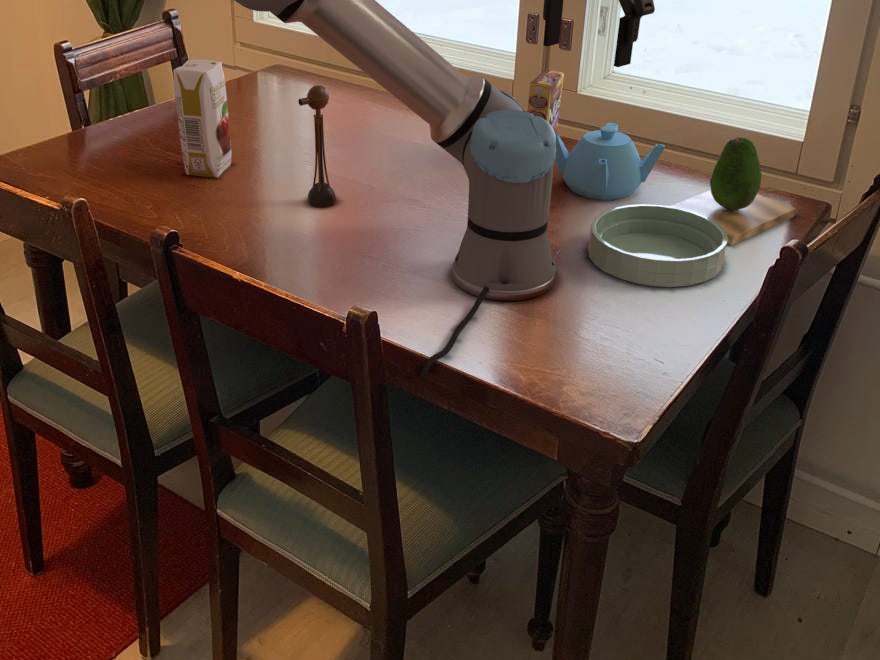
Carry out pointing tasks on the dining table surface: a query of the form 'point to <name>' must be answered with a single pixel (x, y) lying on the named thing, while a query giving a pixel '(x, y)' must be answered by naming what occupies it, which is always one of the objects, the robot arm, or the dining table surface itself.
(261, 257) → the dining table surface
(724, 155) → the avocado
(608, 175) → the teapot
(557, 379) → the dining table surface
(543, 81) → the candy box
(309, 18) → the robot arm
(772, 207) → the board
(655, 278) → the bowl
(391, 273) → the dining table surface
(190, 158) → the juice carton
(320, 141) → the wooden tabletop sculpture
